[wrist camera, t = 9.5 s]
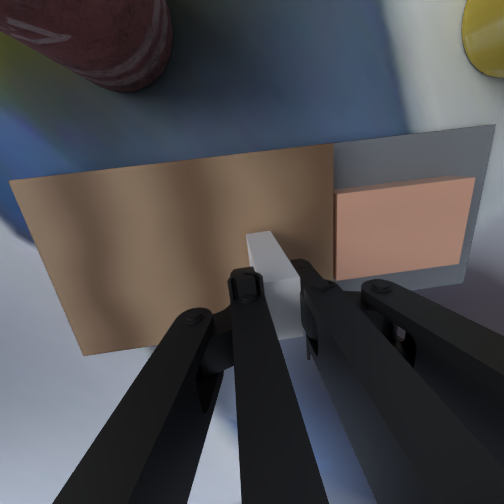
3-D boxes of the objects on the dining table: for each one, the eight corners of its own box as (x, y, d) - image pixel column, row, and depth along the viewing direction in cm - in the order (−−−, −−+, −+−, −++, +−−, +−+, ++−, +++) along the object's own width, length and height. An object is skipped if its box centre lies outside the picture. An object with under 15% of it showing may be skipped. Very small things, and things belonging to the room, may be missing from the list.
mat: (321, 300, 21) (323, 303, 21) (318, 144, 17) (321, 144, 17) (459, 280, 22) (463, 282, 22) (489, 125, 18) (495, 124, 17)
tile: (326, 269, 20) (336, 280, 18) (325, 190, 18) (337, 194, 16) (437, 254, 20) (458, 263, 18) (450, 175, 18) (475, 177, 16)
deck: (99, 333, 20) (83, 356, 18) (39, 177, 16) (8, 180, 14) (321, 300, 21) (333, 318, 19) (318, 144, 17) (333, 142, 15)
